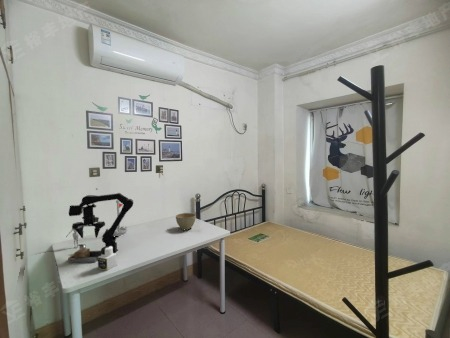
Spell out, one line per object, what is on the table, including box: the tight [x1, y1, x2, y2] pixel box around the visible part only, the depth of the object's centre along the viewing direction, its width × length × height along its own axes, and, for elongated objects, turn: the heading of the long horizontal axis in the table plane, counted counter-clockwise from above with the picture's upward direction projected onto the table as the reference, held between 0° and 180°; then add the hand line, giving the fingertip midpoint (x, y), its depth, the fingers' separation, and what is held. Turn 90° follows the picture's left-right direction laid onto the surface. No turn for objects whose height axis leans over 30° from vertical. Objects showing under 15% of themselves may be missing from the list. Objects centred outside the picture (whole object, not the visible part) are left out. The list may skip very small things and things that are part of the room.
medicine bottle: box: [97, 245, 118, 271], centre depth 130 cm, size 7×7×12 cm
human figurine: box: [65, 222, 85, 249], centre depth 161 cm, size 12×4×18 cm, turn 145°
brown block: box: [73, 248, 91, 258], centre depth 142 cm, size 6×6×5 cm
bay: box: [67, 244, 101, 264], centre depth 145 cm, size 20×17×6 cm
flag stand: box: [113, 199, 128, 237], centre depth 186 cm, size 13×13×30 cm
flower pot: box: [175, 212, 197, 230], centre depth 200 cm, size 18×18×12 cm
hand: (89, 237), depth 146 cm, fingers open, 9 cm apart
